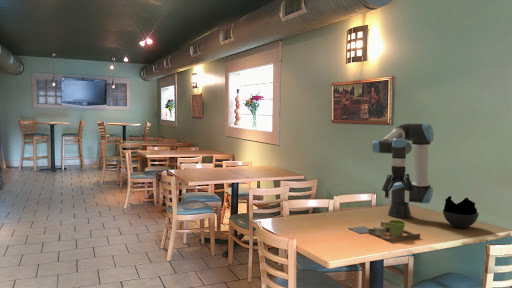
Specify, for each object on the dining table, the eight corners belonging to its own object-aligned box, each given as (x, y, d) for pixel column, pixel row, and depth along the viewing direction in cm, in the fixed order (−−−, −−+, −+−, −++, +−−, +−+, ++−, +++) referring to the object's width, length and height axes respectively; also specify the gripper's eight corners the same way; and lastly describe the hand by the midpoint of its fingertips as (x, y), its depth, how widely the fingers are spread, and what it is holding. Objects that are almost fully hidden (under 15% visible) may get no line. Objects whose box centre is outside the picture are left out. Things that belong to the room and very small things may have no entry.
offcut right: (387, 232, 242) (387, 225, 242) (395, 231, 244) (395, 224, 244) (392, 234, 238) (392, 227, 238) (400, 233, 241) (400, 226, 240)
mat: (348, 228, 249) (348, 228, 249) (364, 226, 253) (364, 226, 253) (360, 233, 238) (360, 233, 238) (376, 231, 242) (376, 231, 242)
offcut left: (373, 233, 239) (373, 227, 238) (381, 232, 241) (381, 226, 241) (377, 235, 235) (378, 228, 235) (386, 234, 237) (386, 227, 237)
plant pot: (408, 236, 232) (408, 221, 232) (401, 240, 225) (401, 225, 225) (392, 233, 239) (392, 219, 238) (385, 237, 232) (385, 222, 231)
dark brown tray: (368, 233, 239) (368, 229, 239) (396, 229, 247) (396, 225, 247) (390, 242, 222) (390, 237, 221) (420, 238, 229) (420, 233, 229)
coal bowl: (485, 229, 248) (486, 199, 247) (460, 232, 241) (462, 201, 240) (458, 222, 267) (460, 193, 266) (435, 224, 260) (436, 195, 259)
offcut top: (380, 226, 240) (380, 221, 240) (387, 225, 242) (387, 220, 242) (384, 227, 237) (385, 222, 236) (392, 227, 238) (392, 222, 238)
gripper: (385, 166, 222) (384, 205, 223) (420, 165, 231) (419, 202, 232) (376, 165, 229) (375, 202, 230) (411, 164, 238) (409, 200, 239)
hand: (397, 202), depth 231 cm, fingers open, 13 cm apart
